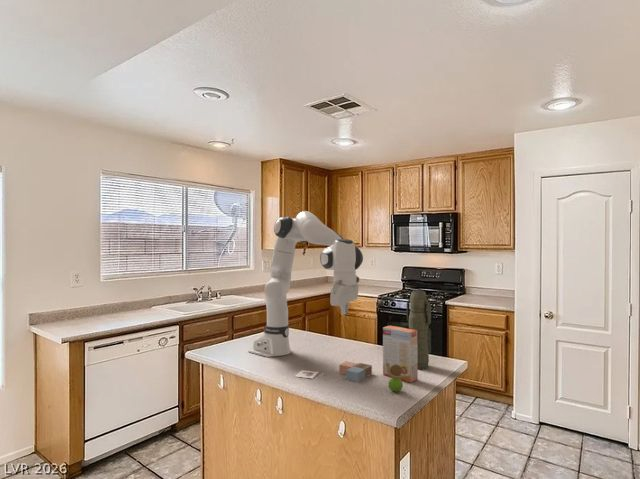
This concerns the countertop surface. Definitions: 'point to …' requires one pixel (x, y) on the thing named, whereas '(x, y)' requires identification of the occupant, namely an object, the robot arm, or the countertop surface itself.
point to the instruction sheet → (306, 374)
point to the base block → (365, 366)
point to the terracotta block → (345, 366)
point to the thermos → (420, 324)
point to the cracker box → (400, 351)
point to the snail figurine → (394, 377)
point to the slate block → (355, 374)
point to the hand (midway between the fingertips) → (344, 314)
